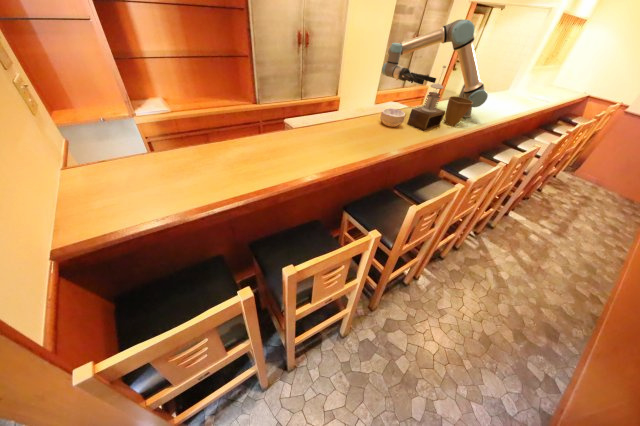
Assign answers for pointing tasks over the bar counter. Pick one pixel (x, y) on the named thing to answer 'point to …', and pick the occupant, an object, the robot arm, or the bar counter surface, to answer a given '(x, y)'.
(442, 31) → the robot arm
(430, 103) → the french press
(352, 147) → the bar counter surface
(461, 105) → the plant pot
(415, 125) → the shelf
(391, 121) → the paper bowls
